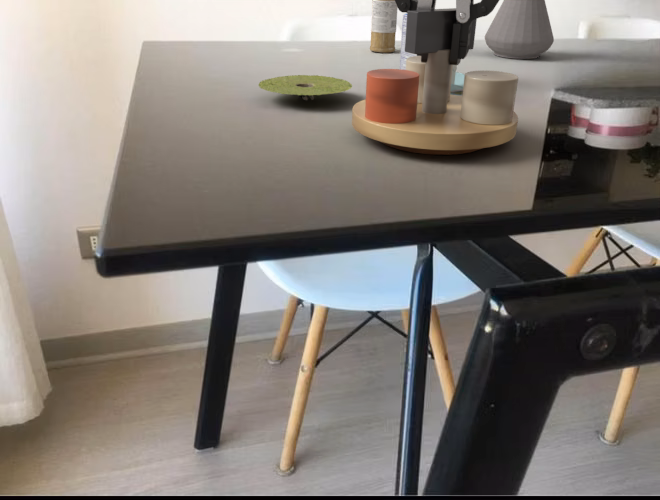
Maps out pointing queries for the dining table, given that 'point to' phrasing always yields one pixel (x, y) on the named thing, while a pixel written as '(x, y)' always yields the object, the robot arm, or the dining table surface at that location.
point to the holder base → (428, 151)
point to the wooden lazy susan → (436, 95)
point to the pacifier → (457, 82)
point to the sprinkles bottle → (383, 26)
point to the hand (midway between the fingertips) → (440, 61)
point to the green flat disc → (305, 85)
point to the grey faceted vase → (520, 30)
